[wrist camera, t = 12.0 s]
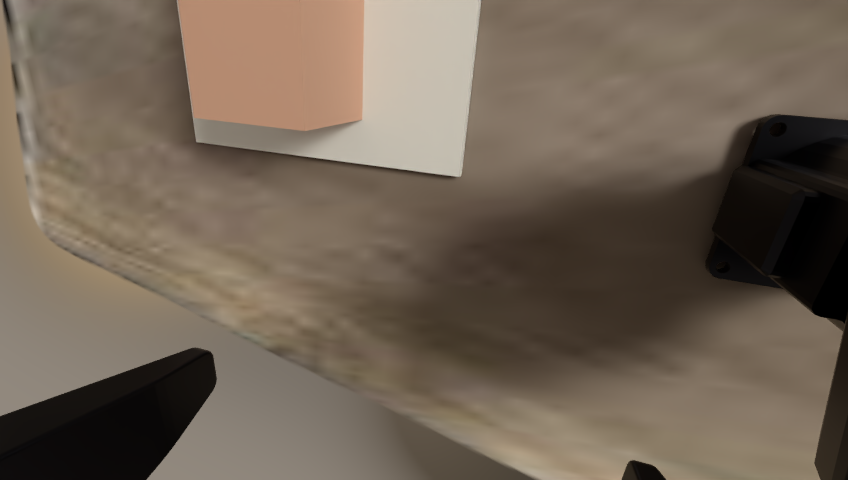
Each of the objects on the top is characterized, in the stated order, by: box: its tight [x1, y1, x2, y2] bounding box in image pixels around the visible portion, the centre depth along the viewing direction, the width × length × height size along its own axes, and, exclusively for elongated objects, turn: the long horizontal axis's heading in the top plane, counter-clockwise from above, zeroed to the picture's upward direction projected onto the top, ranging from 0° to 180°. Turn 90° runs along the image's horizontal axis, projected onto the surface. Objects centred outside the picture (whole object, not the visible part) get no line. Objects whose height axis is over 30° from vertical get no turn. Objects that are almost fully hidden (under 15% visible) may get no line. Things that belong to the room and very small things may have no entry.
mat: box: [177, 0, 481, 177], centre depth 17 cm, size 14×12×1 cm
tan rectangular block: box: [178, 0, 364, 131], centre depth 15 cm, size 8×4×5 cm, turn 176°
